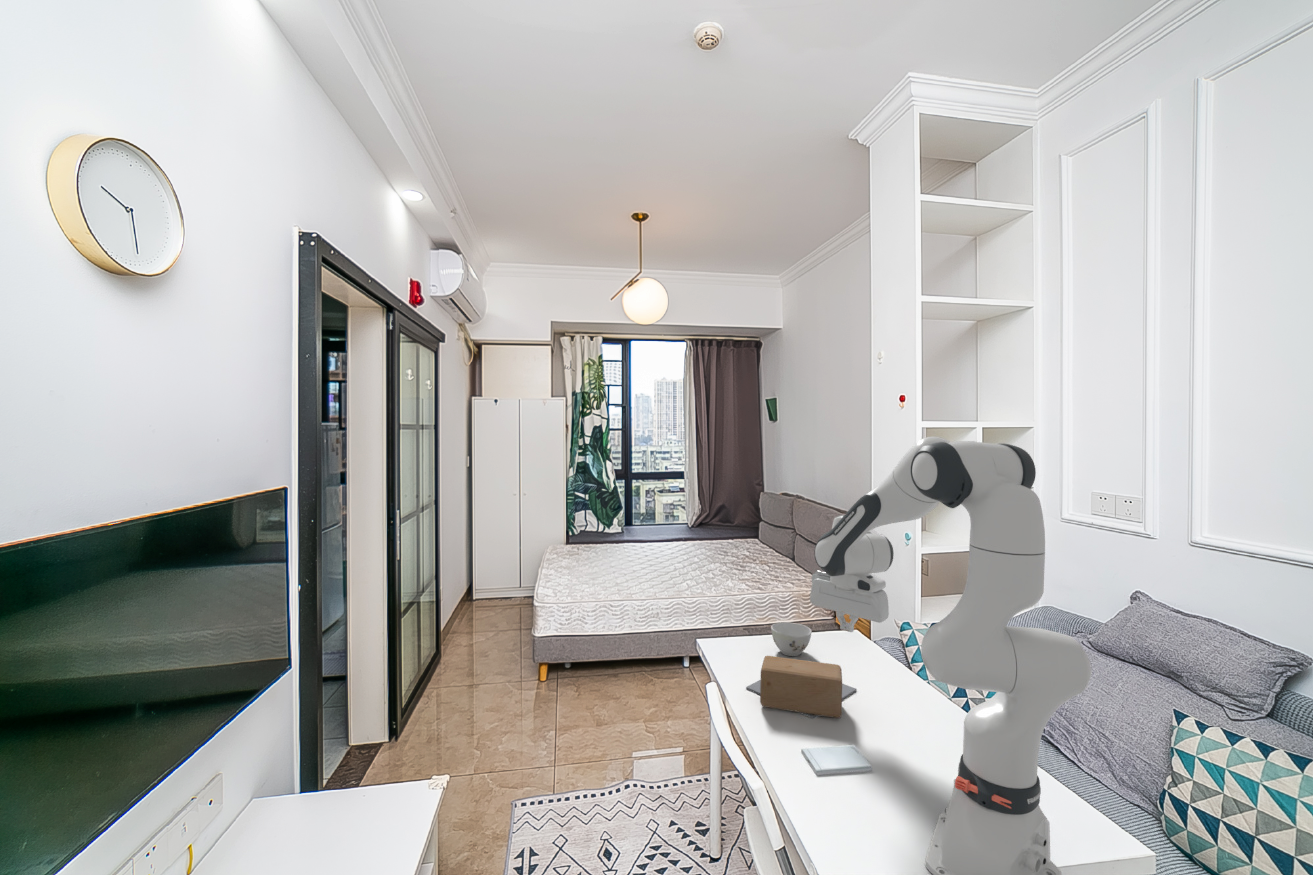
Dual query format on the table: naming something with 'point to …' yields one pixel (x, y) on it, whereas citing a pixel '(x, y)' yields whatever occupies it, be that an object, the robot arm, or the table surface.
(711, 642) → the table surface
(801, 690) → the wooden block
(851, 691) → the grey flat square slab
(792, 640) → the teacup
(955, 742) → the table surface
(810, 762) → the hard drive
